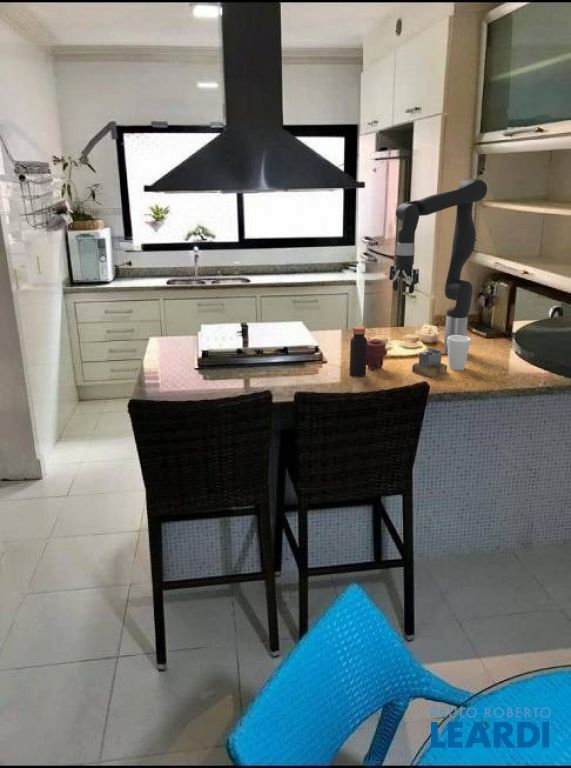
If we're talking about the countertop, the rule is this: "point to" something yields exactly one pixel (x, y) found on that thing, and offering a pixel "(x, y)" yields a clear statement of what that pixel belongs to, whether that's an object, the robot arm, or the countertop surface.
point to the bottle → (358, 352)
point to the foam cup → (458, 351)
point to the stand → (429, 369)
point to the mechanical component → (375, 354)
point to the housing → (430, 357)
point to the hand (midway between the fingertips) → (402, 291)
